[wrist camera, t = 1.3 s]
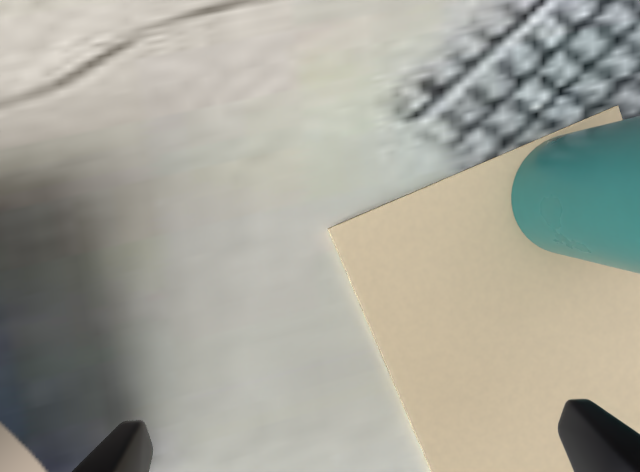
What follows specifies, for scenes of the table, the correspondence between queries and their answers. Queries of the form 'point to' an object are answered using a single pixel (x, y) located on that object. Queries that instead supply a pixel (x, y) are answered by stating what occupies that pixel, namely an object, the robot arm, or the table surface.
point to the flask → (584, 195)
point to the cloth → (491, 320)
